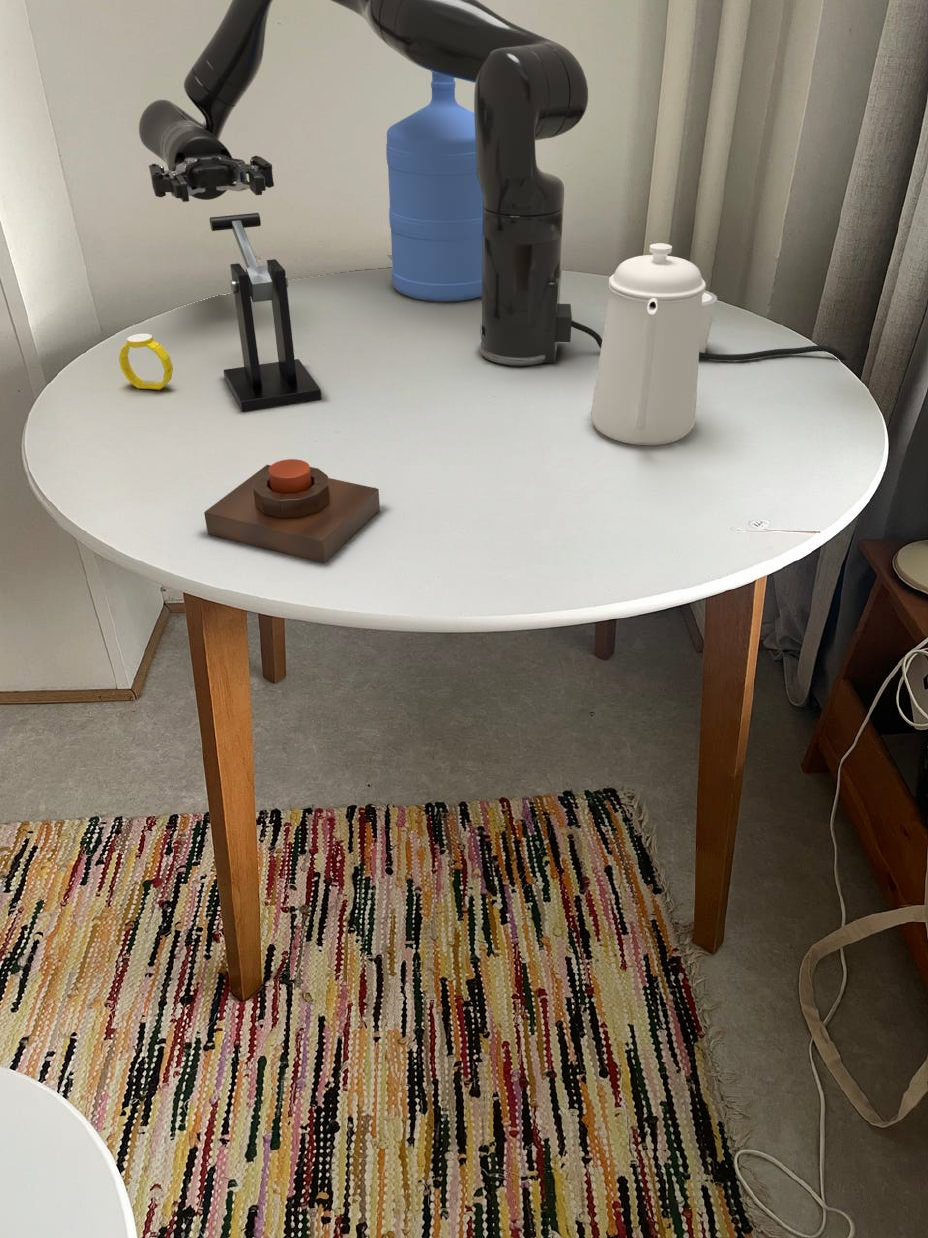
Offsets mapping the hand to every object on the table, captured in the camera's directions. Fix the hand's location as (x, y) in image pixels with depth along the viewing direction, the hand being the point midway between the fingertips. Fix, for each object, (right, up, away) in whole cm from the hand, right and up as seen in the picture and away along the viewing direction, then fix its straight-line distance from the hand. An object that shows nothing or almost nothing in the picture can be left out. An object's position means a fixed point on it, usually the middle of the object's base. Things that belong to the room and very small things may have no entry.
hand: (222, 189), depth 116 cm
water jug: (+25, -2, +30) cm, 39 cm away
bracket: (+6, -23, -1) cm, 24 cm away
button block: (+13, -41, -26) cm, 50 cm away
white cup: (+55, -17, +8) cm, 58 cm away
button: (+13, -38, -28) cm, 49 cm away
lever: (+4, -10, -5) cm, 12 cm away
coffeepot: (+47, -30, -10) cm, 56 cm away
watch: (-8, -23, -1) cm, 25 cm away
